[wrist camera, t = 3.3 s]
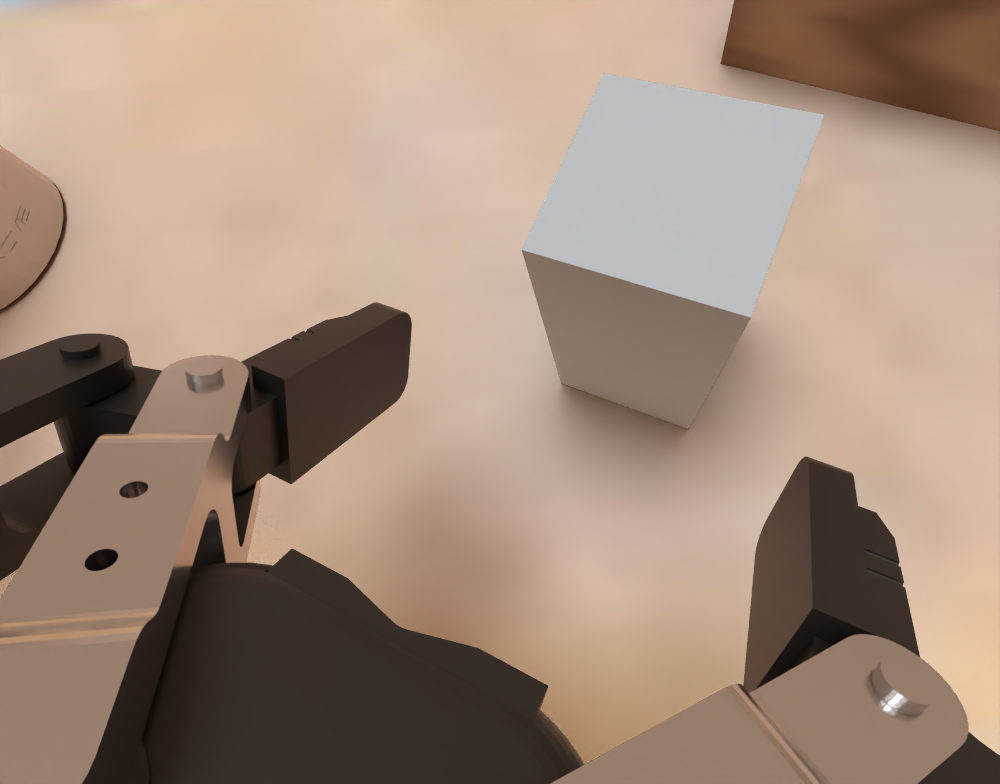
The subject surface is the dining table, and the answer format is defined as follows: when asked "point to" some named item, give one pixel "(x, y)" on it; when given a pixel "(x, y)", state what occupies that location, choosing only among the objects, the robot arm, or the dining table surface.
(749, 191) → the slate block
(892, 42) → the pedestal
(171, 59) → the dining table surface
